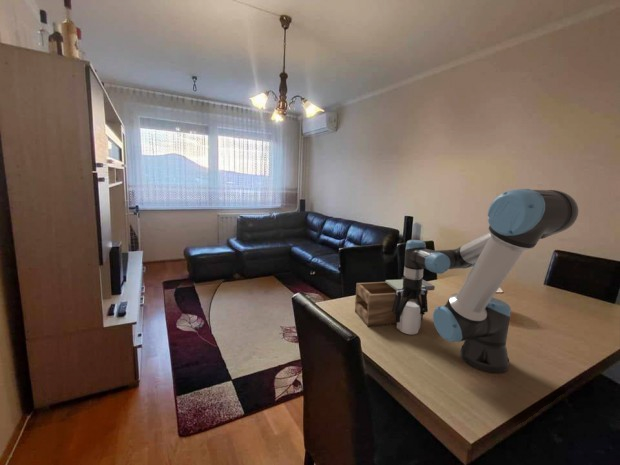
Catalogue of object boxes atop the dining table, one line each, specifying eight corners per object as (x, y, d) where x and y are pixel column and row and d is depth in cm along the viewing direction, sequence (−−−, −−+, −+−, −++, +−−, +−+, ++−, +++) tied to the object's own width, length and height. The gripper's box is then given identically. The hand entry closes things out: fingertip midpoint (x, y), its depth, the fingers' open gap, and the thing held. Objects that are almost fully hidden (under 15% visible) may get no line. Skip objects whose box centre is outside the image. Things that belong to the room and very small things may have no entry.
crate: (421, 322, 133) (424, 288, 131) (367, 326, 128) (369, 291, 125) (403, 308, 149) (405, 276, 146) (354, 311, 143) (356, 279, 141)
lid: (434, 290, 134) (434, 285, 134) (397, 292, 130) (397, 287, 130) (419, 281, 146) (419, 277, 145) (385, 283, 142) (385, 279, 142)
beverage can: (420, 336, 121) (423, 308, 119) (401, 335, 122) (403, 308, 120) (414, 326, 129) (416, 300, 127) (396, 325, 130) (398, 300, 128)
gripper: (429, 273, 127) (425, 322, 131) (385, 275, 123) (381, 325, 127) (440, 278, 120) (435, 330, 124) (394, 281, 116) (389, 334, 119)
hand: (408, 328), depth 125 cm, fingers closed on beverage can, 8 cm apart
